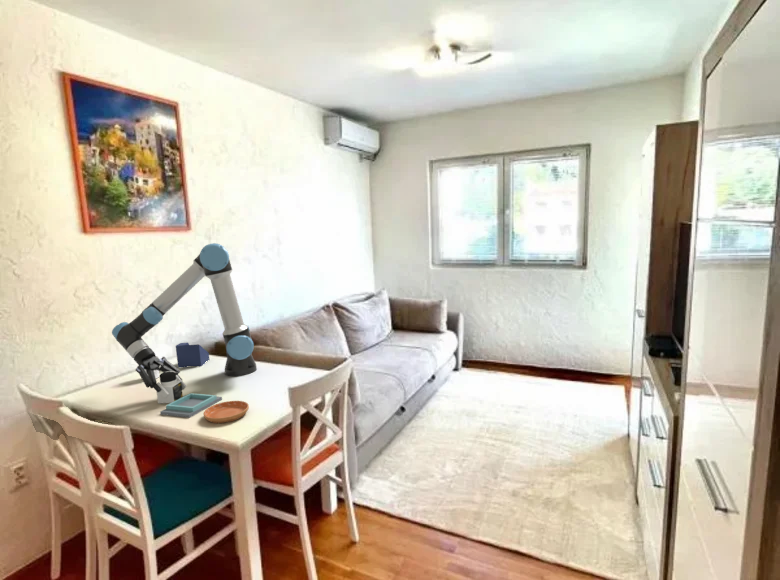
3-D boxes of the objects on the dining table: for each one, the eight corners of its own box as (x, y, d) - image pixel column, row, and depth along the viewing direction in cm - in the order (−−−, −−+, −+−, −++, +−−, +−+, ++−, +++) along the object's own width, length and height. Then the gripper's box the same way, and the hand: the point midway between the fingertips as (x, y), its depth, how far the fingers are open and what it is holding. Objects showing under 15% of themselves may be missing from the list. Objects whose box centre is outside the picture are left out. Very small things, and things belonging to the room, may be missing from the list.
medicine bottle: (174, 403, 178) (171, 374, 176) (157, 403, 178) (154, 375, 176) (183, 396, 185) (180, 369, 183) (166, 397, 185) (163, 370, 183)
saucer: (217, 429, 151) (216, 421, 151) (196, 418, 162) (195, 411, 161) (257, 413, 163) (256, 406, 163) (235, 404, 174) (234, 397, 173)
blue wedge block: (209, 359, 240) (207, 338, 239) (201, 366, 229) (198, 344, 227) (187, 361, 240) (185, 340, 238) (178, 367, 228) (175, 345, 226)
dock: (194, 397, 183) (194, 391, 183) (222, 399, 179) (221, 393, 179) (160, 414, 167) (159, 407, 166) (189, 417, 162) (188, 410, 162)
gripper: (158, 352, 194) (190, 388, 191) (114, 366, 174) (150, 407, 171) (166, 340, 192) (199, 377, 189) (122, 354, 172) (159, 395, 169)
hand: (175, 391), depth 180 cm, fingers closed on medicine bottle, 9 cm apart
